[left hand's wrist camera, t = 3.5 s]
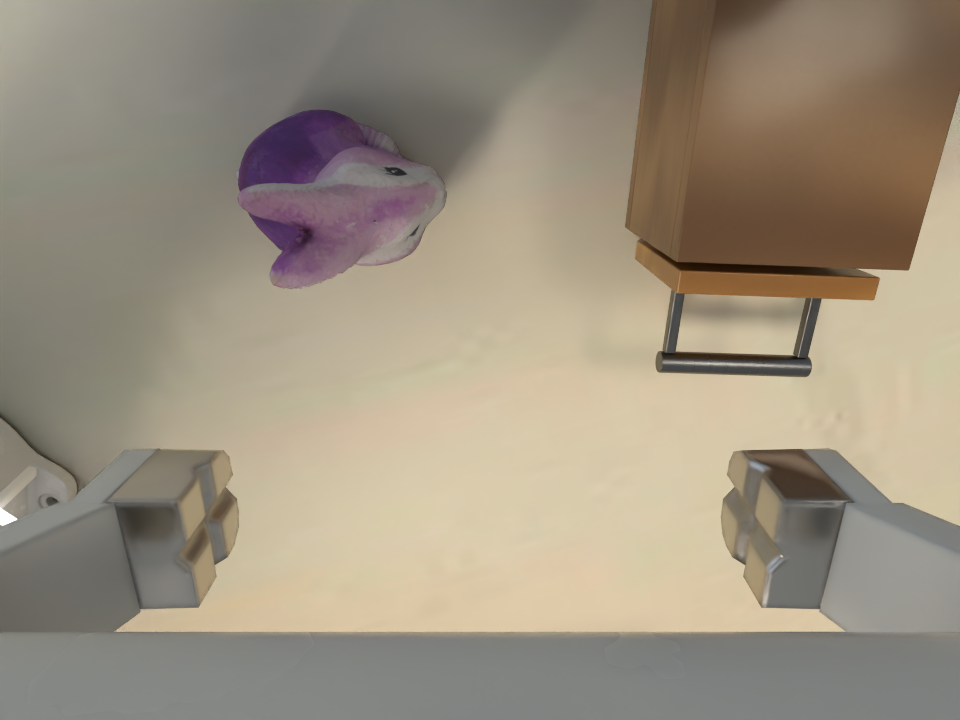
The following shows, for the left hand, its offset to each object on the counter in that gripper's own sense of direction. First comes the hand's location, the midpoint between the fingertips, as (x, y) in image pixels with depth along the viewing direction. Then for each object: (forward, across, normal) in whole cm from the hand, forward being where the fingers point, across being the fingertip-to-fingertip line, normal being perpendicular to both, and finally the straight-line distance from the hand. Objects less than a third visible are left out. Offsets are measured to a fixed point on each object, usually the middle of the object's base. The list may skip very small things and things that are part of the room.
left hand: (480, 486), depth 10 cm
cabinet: (+32, -15, -9) cm, 36 cm away
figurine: (+31, +8, -2) cm, 32 cm away
